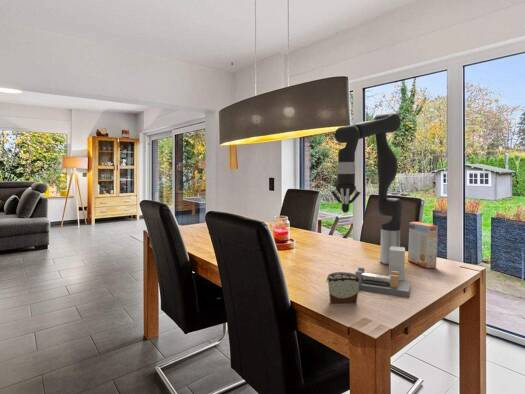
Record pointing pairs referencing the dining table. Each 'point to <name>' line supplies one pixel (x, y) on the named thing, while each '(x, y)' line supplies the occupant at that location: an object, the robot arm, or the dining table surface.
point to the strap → (376, 277)
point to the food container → (343, 288)
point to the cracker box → (423, 244)
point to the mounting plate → (385, 284)
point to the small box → (397, 261)
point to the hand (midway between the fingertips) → (345, 212)
